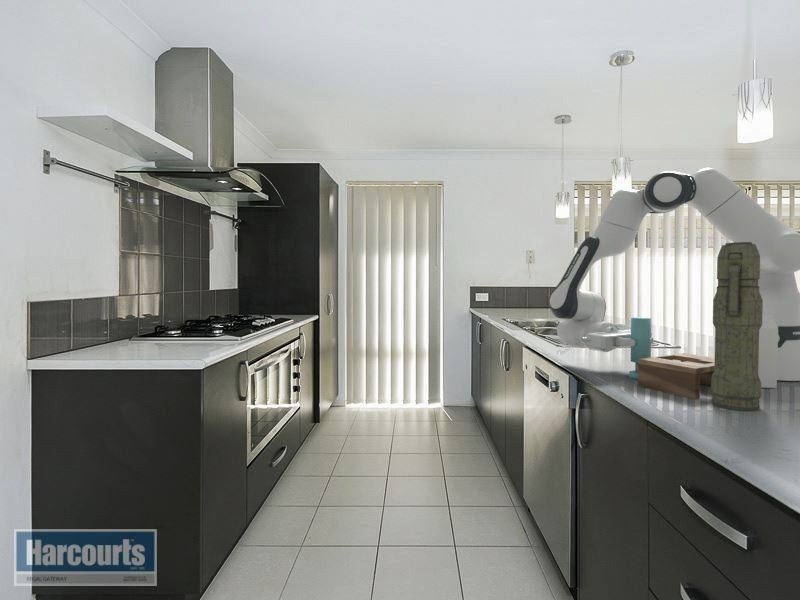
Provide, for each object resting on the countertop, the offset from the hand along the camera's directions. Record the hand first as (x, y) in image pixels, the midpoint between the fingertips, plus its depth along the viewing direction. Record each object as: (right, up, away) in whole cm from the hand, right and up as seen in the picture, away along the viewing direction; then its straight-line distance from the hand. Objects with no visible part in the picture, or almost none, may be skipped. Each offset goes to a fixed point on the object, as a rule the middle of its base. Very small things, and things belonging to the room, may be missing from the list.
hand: (643, 342), depth 135 cm
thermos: (+6, -12, -28) cm, 31 cm away
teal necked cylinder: (0, -10, +1) cm, 10 cm away
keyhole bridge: (+6, -11, -11) cm, 16 cm away
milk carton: (+23, -10, -9) cm, 27 cm away
